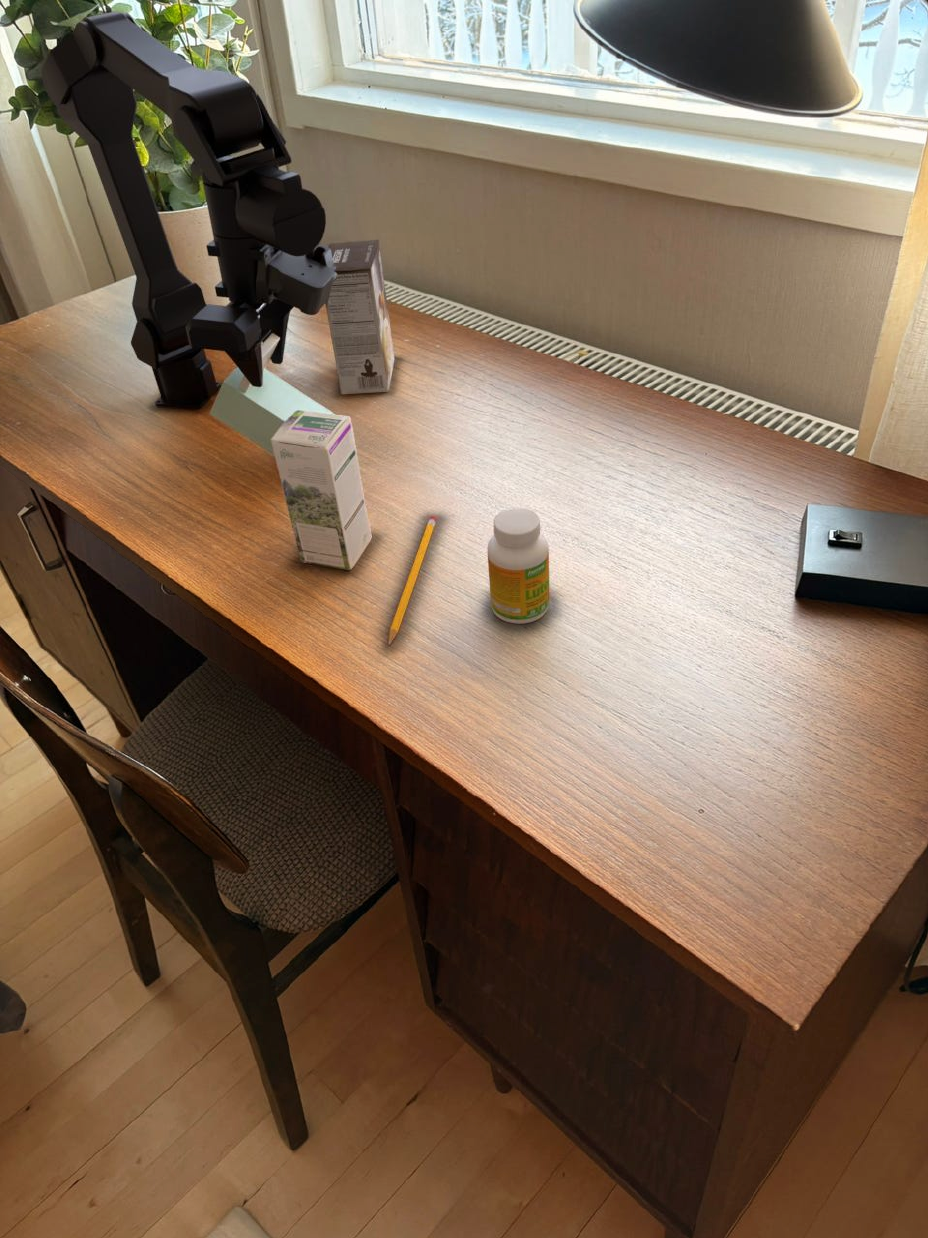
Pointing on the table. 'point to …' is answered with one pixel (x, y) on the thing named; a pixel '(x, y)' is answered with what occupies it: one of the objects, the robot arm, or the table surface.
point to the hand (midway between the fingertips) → (267, 374)
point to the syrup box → (323, 488)
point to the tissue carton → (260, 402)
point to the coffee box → (360, 318)
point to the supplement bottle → (518, 567)
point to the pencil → (411, 579)
